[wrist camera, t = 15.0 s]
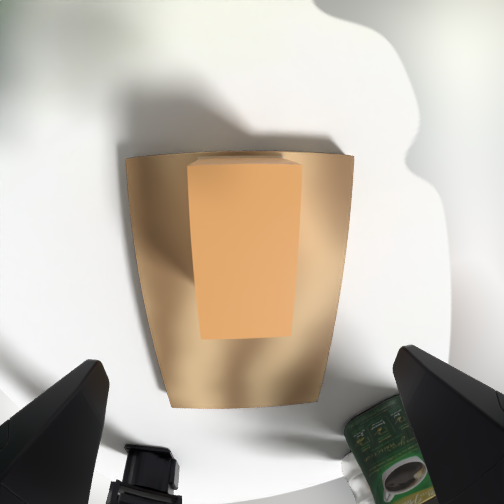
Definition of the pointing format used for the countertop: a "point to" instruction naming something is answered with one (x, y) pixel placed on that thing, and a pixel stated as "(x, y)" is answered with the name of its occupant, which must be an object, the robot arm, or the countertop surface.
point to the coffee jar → (390, 455)
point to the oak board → (184, 295)
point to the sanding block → (244, 244)
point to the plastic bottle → (356, 480)
